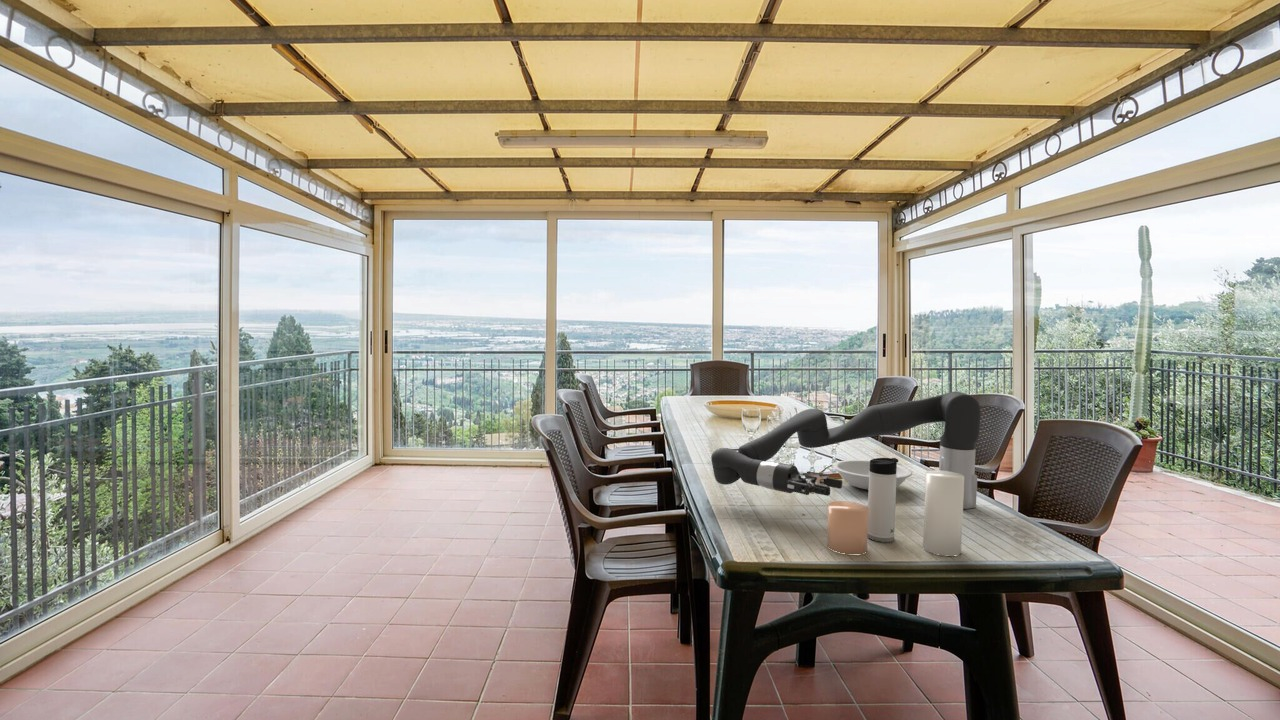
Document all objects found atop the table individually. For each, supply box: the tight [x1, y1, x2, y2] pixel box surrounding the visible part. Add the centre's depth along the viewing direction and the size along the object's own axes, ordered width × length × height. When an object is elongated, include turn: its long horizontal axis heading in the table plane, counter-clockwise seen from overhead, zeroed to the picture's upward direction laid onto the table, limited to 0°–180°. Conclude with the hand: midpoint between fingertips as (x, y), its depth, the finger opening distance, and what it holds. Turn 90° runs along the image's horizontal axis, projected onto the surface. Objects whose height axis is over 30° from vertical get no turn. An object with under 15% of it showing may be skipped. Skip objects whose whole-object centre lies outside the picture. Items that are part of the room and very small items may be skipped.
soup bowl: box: [832, 459, 913, 491], centre depth 191 cm, size 24×24×7 cm
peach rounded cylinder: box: [826, 500, 869, 554], centre depth 138 cm, size 9×9×10 cm
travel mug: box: [867, 457, 899, 543], centre depth 145 cm, size 6×7×20 cm
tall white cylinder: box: [922, 469, 964, 556], centre depth 138 cm, size 8×8×18 cm
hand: (835, 488), depth 151 cm, fingers open, 8 cm apart
